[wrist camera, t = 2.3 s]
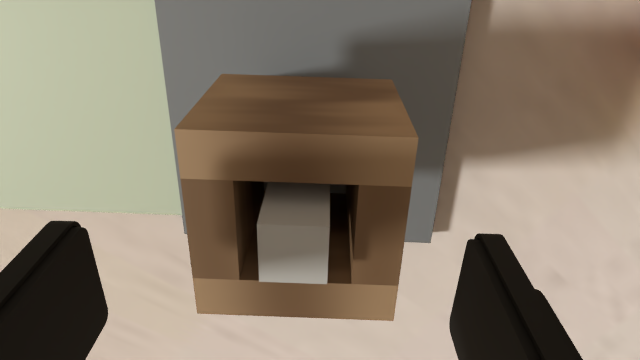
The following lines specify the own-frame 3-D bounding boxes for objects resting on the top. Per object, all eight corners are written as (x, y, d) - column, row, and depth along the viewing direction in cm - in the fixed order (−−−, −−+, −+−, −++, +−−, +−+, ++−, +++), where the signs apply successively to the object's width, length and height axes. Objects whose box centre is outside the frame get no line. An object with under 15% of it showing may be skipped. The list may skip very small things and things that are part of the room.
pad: (171, -118, 19) (166, -120, 18) (204, 210, 26) (202, 215, 26) (-209, -130, 19) (-224, -133, 19) (-70, 200, 26) (-78, 205, 26)
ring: (392, 79, 18) (418, 137, 12) (377, 223, 21) (393, 320, 15) (221, 73, 18) (174, 129, 12) (231, 218, 21) (197, 313, 15)
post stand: (470, -29, 20) (623, -2, 10) (427, 233, 27) (490, 423, 16) (157, -39, 20) (-34, -23, 10) (189, 224, 27) (95, 408, 16)
